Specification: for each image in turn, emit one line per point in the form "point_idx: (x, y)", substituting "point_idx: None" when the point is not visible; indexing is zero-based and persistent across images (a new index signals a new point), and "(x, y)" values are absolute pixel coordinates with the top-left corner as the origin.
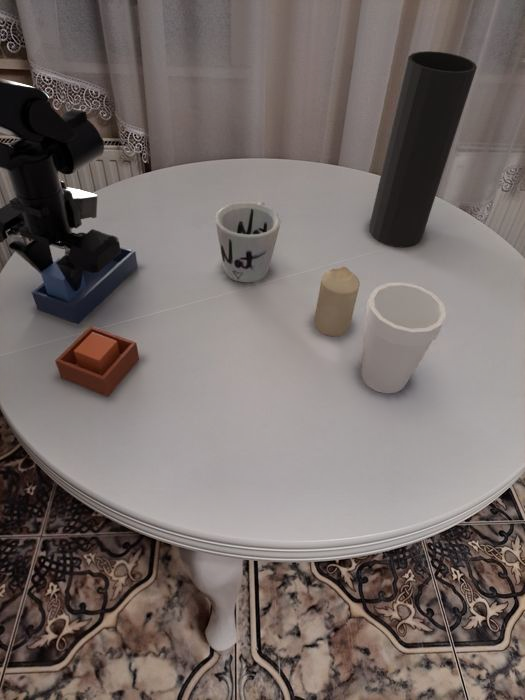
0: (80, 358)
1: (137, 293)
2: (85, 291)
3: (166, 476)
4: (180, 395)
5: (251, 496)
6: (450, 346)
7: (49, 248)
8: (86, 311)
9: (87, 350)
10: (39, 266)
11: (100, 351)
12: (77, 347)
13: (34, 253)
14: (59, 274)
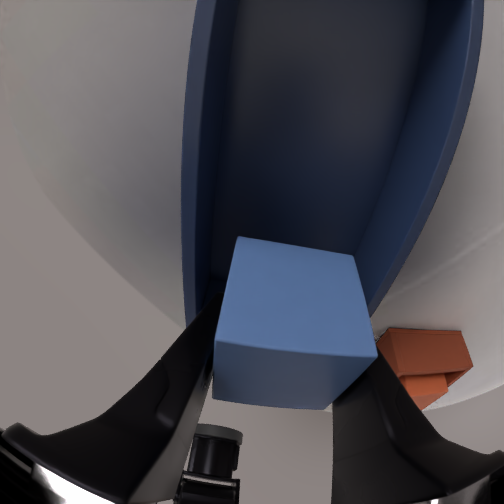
0: None
1: (474, 146)
2: (309, 180)
3: (452, 395)
4: (489, 349)
5: (497, 380)
6: None
7: (176, 426)
8: None
9: None
10: (199, 412)
11: (421, 407)
12: None
13: (179, 468)
14: (294, 400)
